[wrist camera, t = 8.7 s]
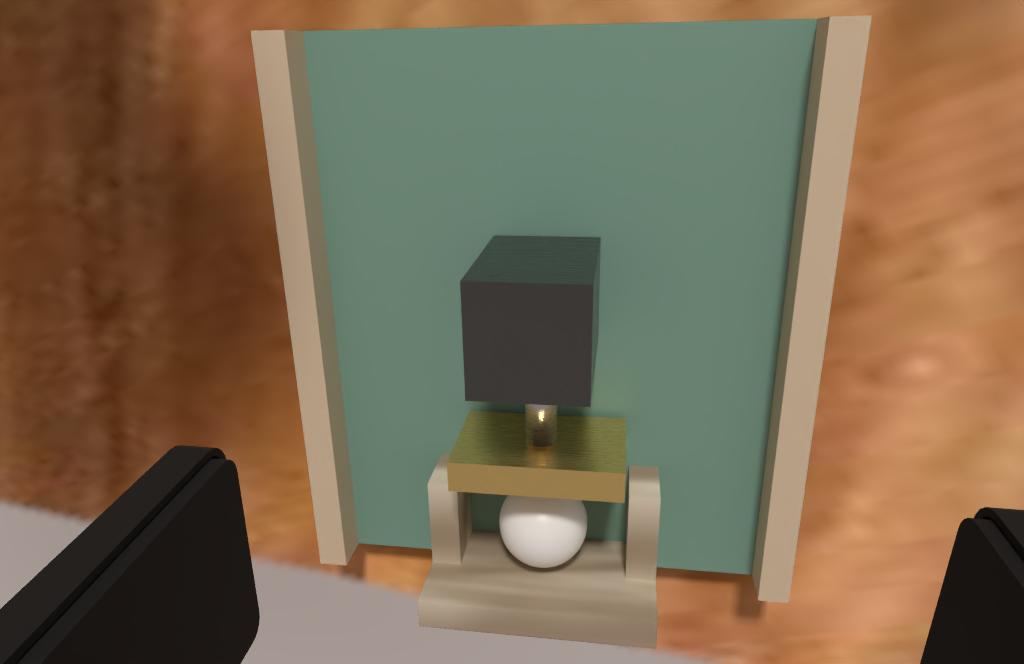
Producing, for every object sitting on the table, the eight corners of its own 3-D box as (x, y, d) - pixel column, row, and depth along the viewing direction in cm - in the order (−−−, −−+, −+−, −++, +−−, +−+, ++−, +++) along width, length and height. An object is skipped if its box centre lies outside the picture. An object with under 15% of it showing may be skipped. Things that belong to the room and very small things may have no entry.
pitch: (285, 32, 28) (250, 30, 25) (846, 19, 25) (871, 15, 22) (343, 526, 36) (320, 563, 33) (775, 559, 33) (788, 603, 30)
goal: (441, 453, 32) (411, 519, 28) (658, 467, 31) (663, 537, 26) (447, 550, 34) (419, 626, 29) (652, 566, 32) (656, 648, 28)
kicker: (462, 234, 28) (421, 279, 22) (633, 237, 27) (634, 285, 22) (470, 435, 31) (436, 519, 26) (625, 444, 30) (624, 533, 25)
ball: (490, 576, 29) (504, 549, 32) (583, 584, 28) (587, 556, 32) (493, 483, 29) (507, 467, 32) (587, 490, 28) (590, 472, 32)
